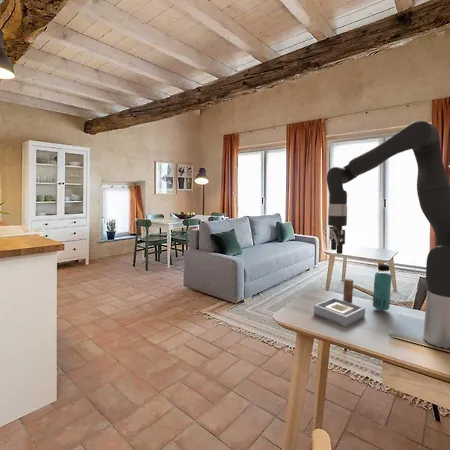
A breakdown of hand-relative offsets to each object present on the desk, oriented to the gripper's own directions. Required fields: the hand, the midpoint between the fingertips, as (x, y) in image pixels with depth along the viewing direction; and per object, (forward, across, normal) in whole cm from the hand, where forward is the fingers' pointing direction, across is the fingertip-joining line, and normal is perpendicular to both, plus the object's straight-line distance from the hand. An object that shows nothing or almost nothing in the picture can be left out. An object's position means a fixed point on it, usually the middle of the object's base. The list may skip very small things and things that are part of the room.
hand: (336, 251), depth 128 cm
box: (+24, -11, +1) cm, 27 cm away
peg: (+24, -1, -5) cm, 25 cm away
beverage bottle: (+24, -5, -18) cm, 31 cm away
